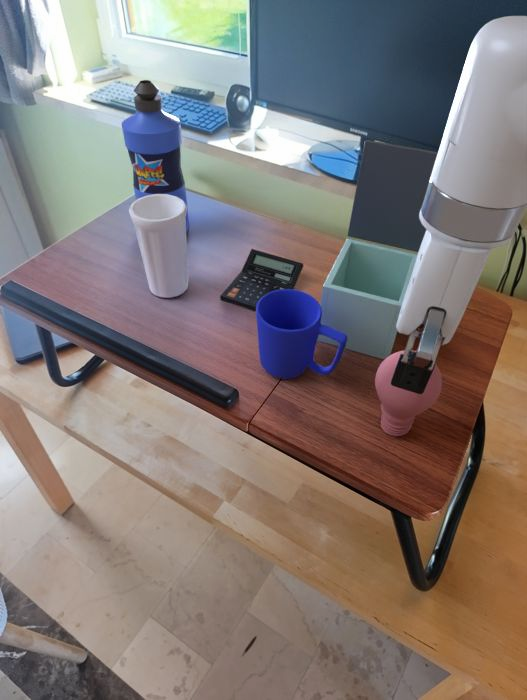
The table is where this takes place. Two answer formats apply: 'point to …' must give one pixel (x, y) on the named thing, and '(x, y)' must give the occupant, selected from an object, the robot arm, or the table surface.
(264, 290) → the calculator
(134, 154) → the blue bottle
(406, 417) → the light bulb
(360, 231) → the lid
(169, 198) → the cup
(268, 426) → the table surface
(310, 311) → the mug
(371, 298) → the mint green open box
